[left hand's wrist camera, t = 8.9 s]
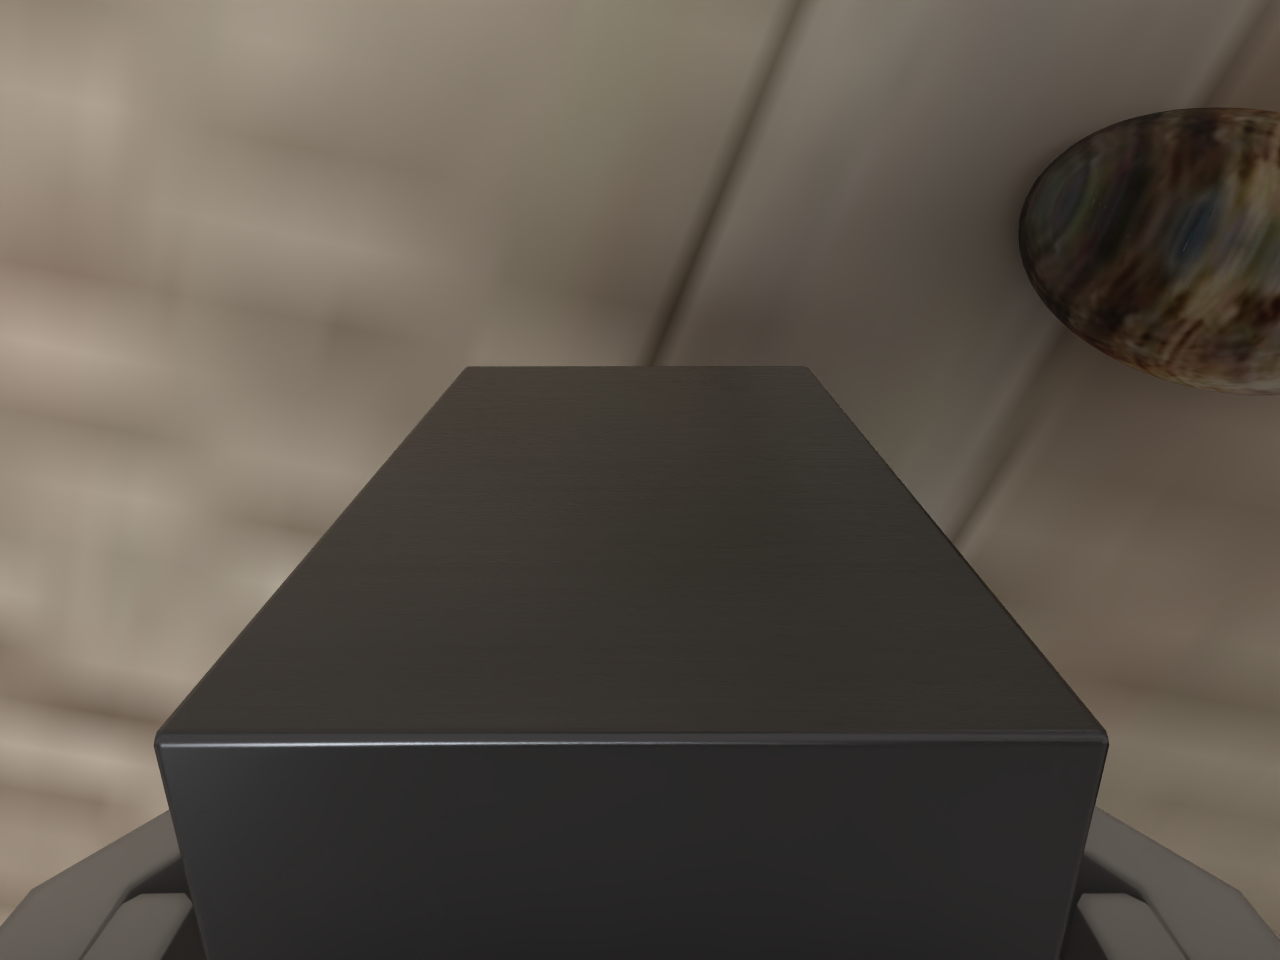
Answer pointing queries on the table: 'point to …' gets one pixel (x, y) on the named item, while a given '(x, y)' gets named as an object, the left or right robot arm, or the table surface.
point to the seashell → (1167, 245)
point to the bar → (632, 702)
